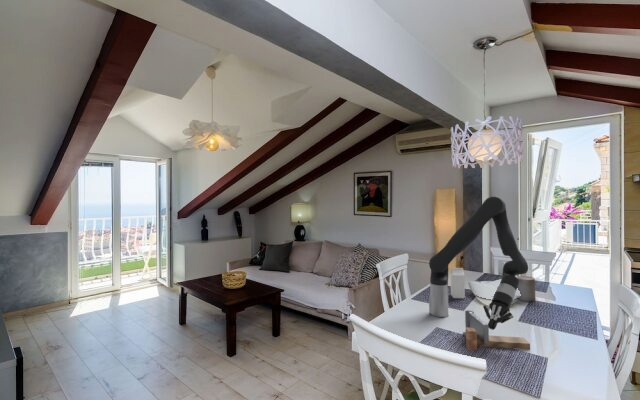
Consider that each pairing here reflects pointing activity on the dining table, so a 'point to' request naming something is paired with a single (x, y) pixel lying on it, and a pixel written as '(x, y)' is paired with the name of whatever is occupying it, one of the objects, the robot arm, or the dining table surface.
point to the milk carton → (457, 283)
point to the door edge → (494, 341)
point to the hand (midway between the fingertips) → (490, 328)
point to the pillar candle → (526, 288)
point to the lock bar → (477, 326)
